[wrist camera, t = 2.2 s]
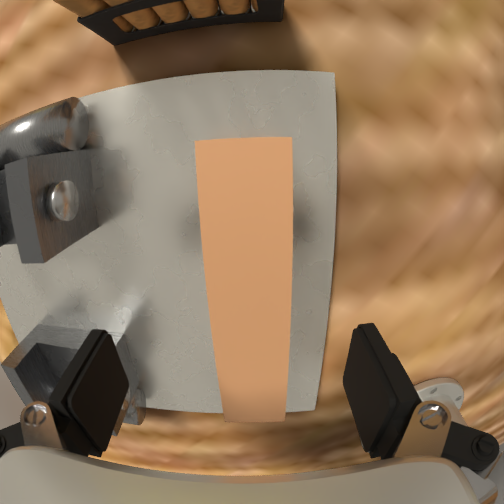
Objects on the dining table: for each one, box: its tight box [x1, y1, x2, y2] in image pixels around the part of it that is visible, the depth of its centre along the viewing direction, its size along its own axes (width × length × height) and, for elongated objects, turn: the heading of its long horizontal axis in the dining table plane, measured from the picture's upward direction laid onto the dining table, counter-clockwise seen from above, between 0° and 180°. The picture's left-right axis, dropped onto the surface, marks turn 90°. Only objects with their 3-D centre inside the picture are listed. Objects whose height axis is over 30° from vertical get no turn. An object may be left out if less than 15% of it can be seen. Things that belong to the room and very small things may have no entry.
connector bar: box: [195, 137, 293, 422], centre depth 16 cm, size 17×4×4 cm, turn 2°
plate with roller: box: [0, 70, 337, 436], centre depth 16 cm, size 25×28×7 cm
